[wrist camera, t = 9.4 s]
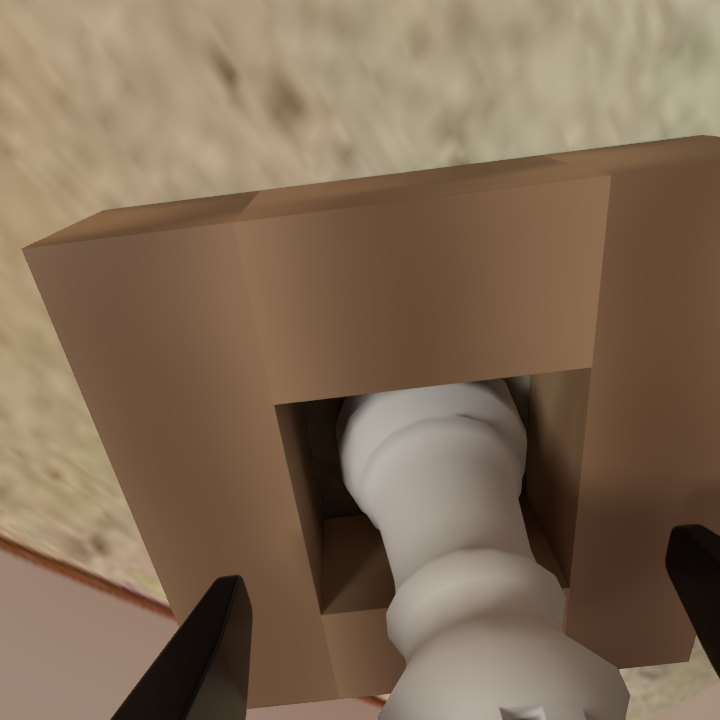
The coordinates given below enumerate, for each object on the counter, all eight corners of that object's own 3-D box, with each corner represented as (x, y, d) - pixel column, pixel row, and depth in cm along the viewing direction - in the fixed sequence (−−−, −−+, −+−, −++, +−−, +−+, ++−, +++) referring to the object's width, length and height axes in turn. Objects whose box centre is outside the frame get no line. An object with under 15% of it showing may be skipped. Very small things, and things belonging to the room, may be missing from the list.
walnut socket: (701, 135, 10) (831, 148, 8) (628, 565, 16) (688, 661, 13) (102, 210, 10) (21, 249, 8) (235, 608, 16) (214, 712, 13)
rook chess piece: (311, 368, 12) (272, 744, 5) (497, 319, 12) (739, 651, 5) (362, 507, 14) (385, 919, 7) (523, 468, 14) (720, 863, 7)
